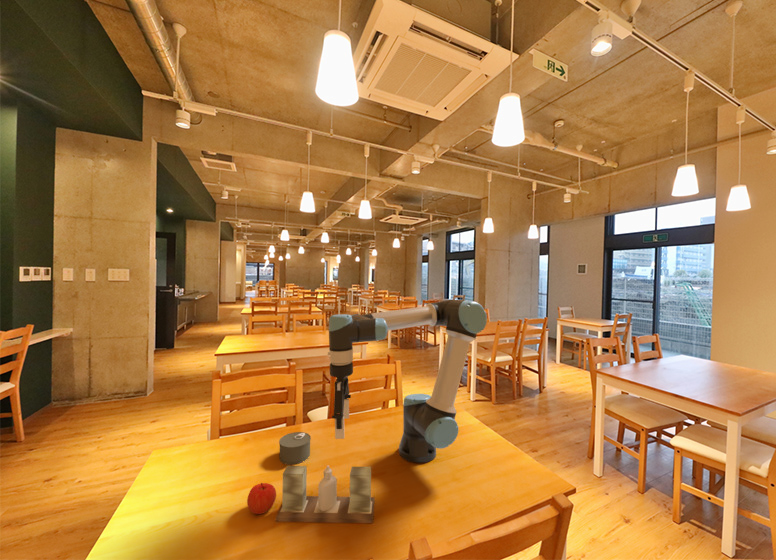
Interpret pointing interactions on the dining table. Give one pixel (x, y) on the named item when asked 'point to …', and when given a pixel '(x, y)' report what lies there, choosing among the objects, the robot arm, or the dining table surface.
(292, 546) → the dining table surface
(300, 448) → the can
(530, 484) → the dining table surface
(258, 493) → the apple
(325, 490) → the eye dropper bottle
